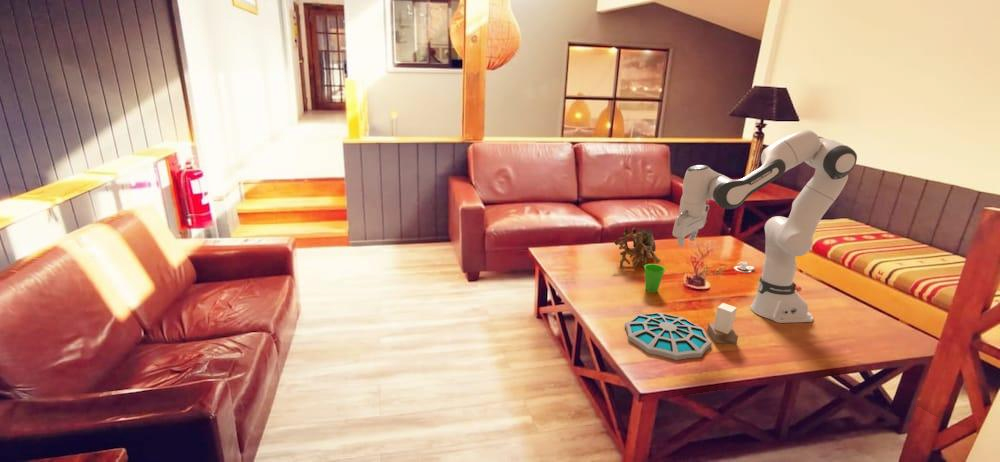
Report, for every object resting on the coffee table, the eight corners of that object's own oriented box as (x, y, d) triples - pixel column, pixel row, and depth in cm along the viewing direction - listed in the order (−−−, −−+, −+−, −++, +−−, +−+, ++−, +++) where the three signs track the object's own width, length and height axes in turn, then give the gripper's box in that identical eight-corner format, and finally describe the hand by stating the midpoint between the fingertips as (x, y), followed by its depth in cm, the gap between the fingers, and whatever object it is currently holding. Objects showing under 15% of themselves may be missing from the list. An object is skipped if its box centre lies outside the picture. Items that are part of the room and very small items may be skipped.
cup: (663, 295, 212) (666, 272, 208) (641, 293, 213) (644, 270, 210) (660, 287, 220) (664, 264, 216) (640, 284, 222) (643, 262, 218)
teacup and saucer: (754, 269, 243) (755, 262, 241) (752, 275, 236) (753, 267, 235) (735, 265, 247) (736, 258, 246) (732, 270, 241) (734, 263, 239)
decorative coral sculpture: (666, 240, 258) (674, 249, 230) (640, 272, 262) (646, 285, 235) (627, 214, 259) (632, 220, 232) (603, 246, 264) (604, 256, 236)
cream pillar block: (718, 324, 182) (723, 302, 179) (732, 329, 179) (736, 307, 176) (713, 328, 179) (717, 307, 176) (727, 334, 175) (731, 312, 172)
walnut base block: (728, 332, 183) (730, 324, 182) (736, 344, 176) (738, 335, 175) (706, 331, 184) (708, 323, 183) (713, 342, 176) (715, 334, 175)
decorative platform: (621, 314, 196) (622, 303, 194) (695, 320, 193) (697, 308, 191) (632, 357, 167) (634, 345, 165) (720, 365, 164) (722, 352, 162)
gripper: (687, 215, 172) (682, 252, 176) (711, 205, 185) (705, 239, 190) (670, 212, 176) (666, 247, 180) (695, 202, 190) (690, 235, 194)
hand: (686, 243), depth 185 cm, fingers open, 8 cm apart
